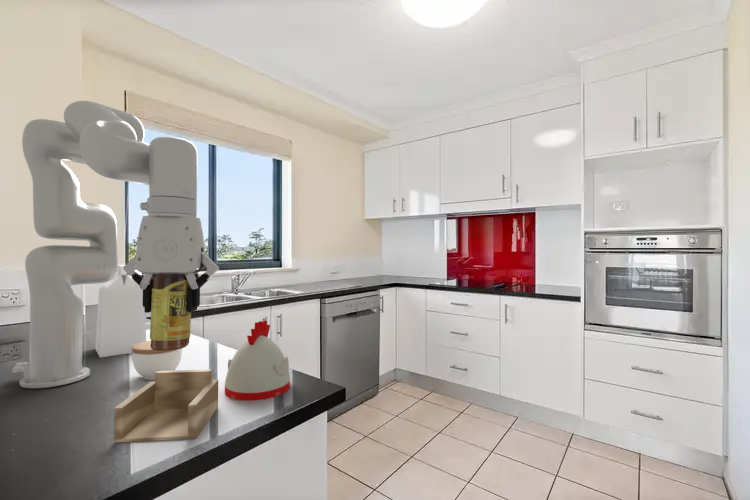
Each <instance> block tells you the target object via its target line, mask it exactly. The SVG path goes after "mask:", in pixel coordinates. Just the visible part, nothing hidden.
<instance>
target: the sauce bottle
mask: <svg viewBox="0 0 750 500" xmlns="http://www.w3.org/2000/svg"><path fill="white" fill-rule="evenodd" d="M188 289H190V285H189V282H188V280H187V278H186V275H185V274H162V273H159V274H154V275H153V288H152V301H151V312H150V329H149V331H150V332H149V339H150V341H151V345H150V346H151V349H153V350H157V351H167V350H176V349H181V348H182V349H184V348H186V347H188V345H189V343H190V337H191V328H192V327H191V325H192V324H191V323H192V322H191V321H192V312H187V290H188Z"/></svg>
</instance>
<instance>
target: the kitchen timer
mask: <svg viewBox="0 0 750 500" xmlns="http://www.w3.org/2000/svg"><path fill="white" fill-rule="evenodd" d="M270 327H271V325H270V324H268V320H262V321H258V322H254V328H250V334H251V335H247V336H246V337H247V340H245V341H244V342H243V343H242V344H241V345H240V347H239V348H238V349H237V350H236V352H235V354H234V355H233V357H232V359H230V358H229V359H228V362H227V373H226V376H225V380H224V394H225V397H228V398H229V399H233V400H235V401H236V400H237V401H244V402H245V401H246V402H247V401H251V402H252V401H263V400H267V399H272V398H275V397H278V396H280V395H283V394H285V393H286V392H287V391H288V390H289V389H290V383H291V381H290V380H291V377H290V368H289V367H290V366H289V365H290V364H289V363H290V362H289V358H288V356H285V355H284V353H283V352H282V350H281V348H280V347H279V345H277V344H276V343H275V342H274V340H272V339H271V338H269V337H268V336H269V332H270Z"/></svg>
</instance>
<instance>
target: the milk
mask: <svg viewBox="0 0 750 500" xmlns="http://www.w3.org/2000/svg"><path fill="white" fill-rule="evenodd" d="M125 265H126V264H125ZM125 265H124V264H118V267H117V272H116V275H115V277H114V278H113V279H112V280H111V281H108V282H105V283H103V284H102V286H101V287H100V288H99V290H98V301H97V315H96V316H97V317H96V332H95V344H94V345H95V347H94V350H95V352H97V355H98V357H99V358H105V357H106V358H107V357H112V356H119V355H126V354H131V353H132V354H133V352H132V347H133V346H134V345H136V344H138V343H141V342H146V341H147V322H146V319H147V318H146V317H147V316H146V313H145V311H144V309H145V307H143V289H141V288H140V287H139V285H138V284H137V283H136V282H135V281H134V280H133V279H132V277H131V276H130V275H129V274H127V273H126V272H125V271H124V269H123V267H124V266H125Z"/></svg>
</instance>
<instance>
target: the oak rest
mask: <svg viewBox="0 0 750 500" xmlns="http://www.w3.org/2000/svg"><path fill="white" fill-rule="evenodd" d="M218 408H219V379H213V369H183V370H181V369H178V370H177V369H175V370H173V371H157V372H156V373H155V380H154V381H152V380H151V381H150V382H148V383H147V384H146V385H144V386H143V387H142V388H140V389H138V390H137V391H136V392H134V393H133V394H131V396H128V397H127V398H126V399H125V400H124V401H122V402H121V403H119V404H118V405H116V406H115V407H114V409H113V410H114V412H113V413H114V415H113V417H114V418H113V443H116V444H117V443H132V442H133V443H134V442H152V441H153V442H155V441H171V440H172V441H173V440H175V441H176V440H196V439H197V437H198V436H199V434H200V433H201V432H202V431H203V429H204V428H205V427H206V425H207V423H208V422H209V421H210V420H211V418H212V417H213V415H214V414H215V413H216V411H217V409H218Z"/></svg>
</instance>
